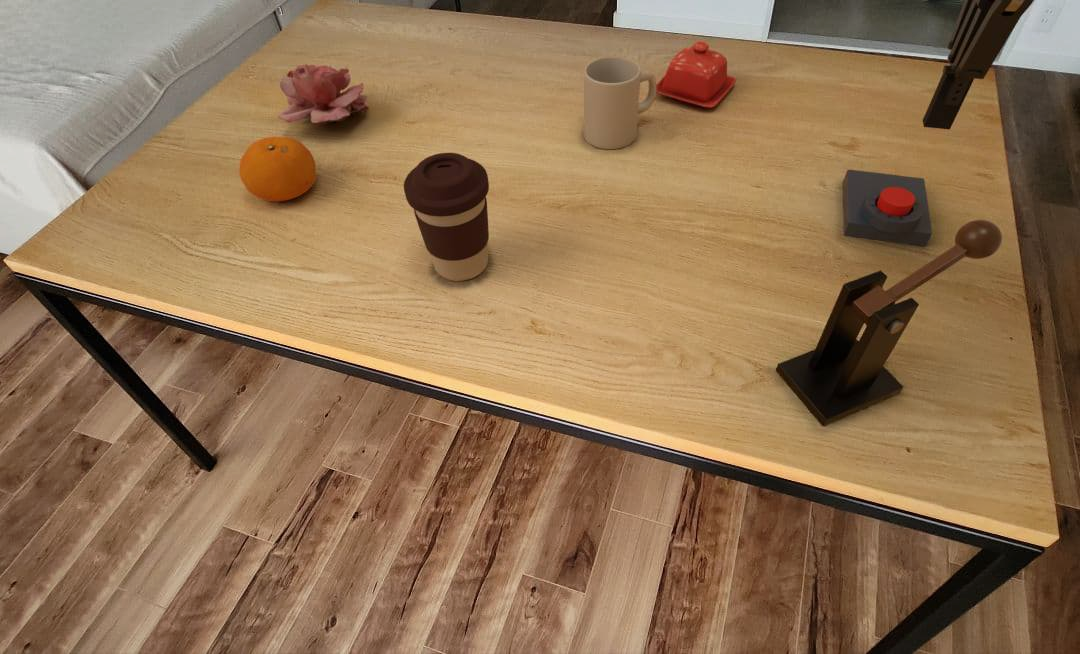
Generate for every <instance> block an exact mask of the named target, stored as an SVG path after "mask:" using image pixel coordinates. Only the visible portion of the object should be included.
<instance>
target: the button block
mask: <svg viewBox="0 0 1080 654" xmlns="http://www.w3.org/2000/svg"><path fill="white" fill-rule="evenodd" d="M889 187H899V188H903V189H905V190H908V191H909V192H911V193H912V194H913V195H914V197H915V202H914V204H913V206H912V208H911V210H910V212H909V214H908V215H906V216H903V217H897V216H890V215H888V214H886V213H884V212H881V211H880V210H879V209H878V208H877V201H878V199H879V197H880V194H881V192H882V191H883V190H884V189H886V188H889ZM842 208H843V209H842V210H843V213H842V214H843V236H847V237H855V238H862V239H868V240H876V241H883V242H888V243H889V242H890V243H897V244H904V245H911V246H918V247H927V245H928V243H929V242H930V239H931V238H932V236H933V228H932V222H931V215H930V209H929V202H928V195H927V189H926V183H925V178H923V177H915V176H907V175H900V174H899V175H898V174H891V173H890V174H889V173H882V172H873V171H864V170H856V169H849V168H848V169H846V172H845V175H844V178H843V180H842Z"/></svg>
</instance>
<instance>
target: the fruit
mask: <svg viewBox="0 0 1080 654" xmlns="http://www.w3.org/2000/svg"><path fill="white" fill-rule="evenodd" d="M238 172H239V173H238V174H239V177H240V180H241V182H242V183H243V185H244V187H245V189H246V190H247V191H248V192H249V193H251V194H252V195H253V196H255V197H256V198H258V199H261V200H263V201H268V202H269V201H270V202H285V201H289V200H292V199H294V198H297V197H300V196H302V195H304V193H306V192H307V191H308V190H310V189H311V187H312V186H313V184H314V183H315V181H316V176H317V166H316V161H315V159H314V156H313V154H312V153H311V151H310V150H309V149H308V148H307V147H306V146H305V145H304V144H303V143H302V142H301V141H299V140H297V139H295V138H294V137H293V138H292V137H289V136H268V137H267V136H266V137H263V138H260V139H258V140H256V141H254V142H253V143H251V144H250V145H249V147H247V149H246V150H245V152H244V153H243V155H242V157H241V158H240V162H239V167H238Z"/></svg>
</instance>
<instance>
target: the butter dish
mask: <svg viewBox="0 0 1080 654" xmlns="http://www.w3.org/2000/svg"><path fill="white" fill-rule="evenodd" d="M736 82H737V78H735V76H731V75H728V58H727V57H726V56H725V55H723V54H722V53H721V52H718V51H716V50H713V49H710V46H709V44H708V43H707V42H705V41H701V40H699V41H696V42H694V43H693V44H692V46H688V47H685V48H683V49H681V50H680V51H679V52H677V53H676V54H675V55H674V57H673V58H672V59H671V61H670V62H669V64H668V66H667V70H666V72H665V75H664V76H663V77H662V78H661V79H660V80H659V81H658V82H657V83H656V94H658V95H661V96H664V97H668V98H672V99H675V100H679V101H681V102H686V103H689V104H692V105H695V106H699V107H703V108H709V109H711V108H714V107H715V106H717V105H718V104H719V103H720V101H721V100H722V99H723V98H725V96H726V95H727V94H728V92H729V91H730V90H731V89H732V88H733V87H734V85H735V84H736Z"/></svg>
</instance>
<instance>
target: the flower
mask: <svg viewBox="0 0 1080 654" xmlns="http://www.w3.org/2000/svg"><path fill="white" fill-rule="evenodd" d="M349 71H350V70H349V68H348V67H347V66H346V67H345V68H340V69H338V70H337V69H335V68H332V65H330V66H329V65H314V64H310V65H308V64H307V63H306V64H301V65H296V68H295V69H294V70H293V69H291V70H289V71H288V73H287V75H283V76H282V78H281V79H280V81H279V87H280V90H281V92H282V93H283V94H284V95H285V96H286V101H287V103H288V105H289V106H288V107H287V108H285V109H284V110H282V111H281V112H280V113H279V114H278V119H280V120H282V121H285V122H288V123H293V122H299V121H302V120H307V119H308V118H310V121H311V123H312V124H324V123H334V124H336V122H342V121H344V120H345V119H347V118H348V117H349V116H350V115H351V113H356V112H358V111H361V113H366V112H367V111H368V110H369V109H370V107H369V106H368V104H365V103H366V102H367V100H368V98H369V96H368V95H367V94H362V92H363V90H364V87H365V86H364V83H363V82H361V83H359V84H357V85H356V84H355V85H352V86H350V87H349V88H347V87H348V86H349V85H350V83H351V80H352V78H351V75H350V73H349ZM345 89H346V90H345Z"/></svg>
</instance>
